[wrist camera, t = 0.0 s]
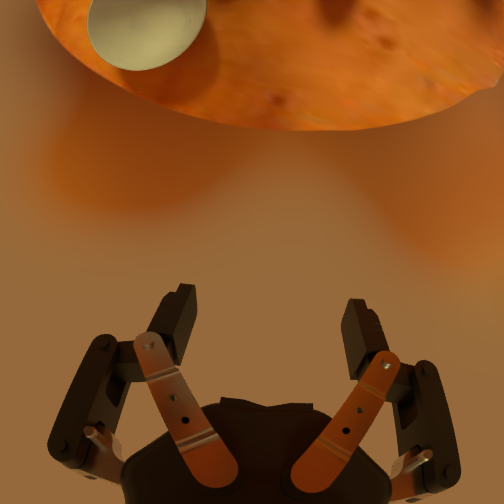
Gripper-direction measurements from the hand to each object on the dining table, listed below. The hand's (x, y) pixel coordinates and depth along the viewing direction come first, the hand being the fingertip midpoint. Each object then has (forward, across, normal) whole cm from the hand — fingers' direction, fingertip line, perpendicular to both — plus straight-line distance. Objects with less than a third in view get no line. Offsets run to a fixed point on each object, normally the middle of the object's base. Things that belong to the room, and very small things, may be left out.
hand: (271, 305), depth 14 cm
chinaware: (+25, +16, -24) cm, 38 cm away
